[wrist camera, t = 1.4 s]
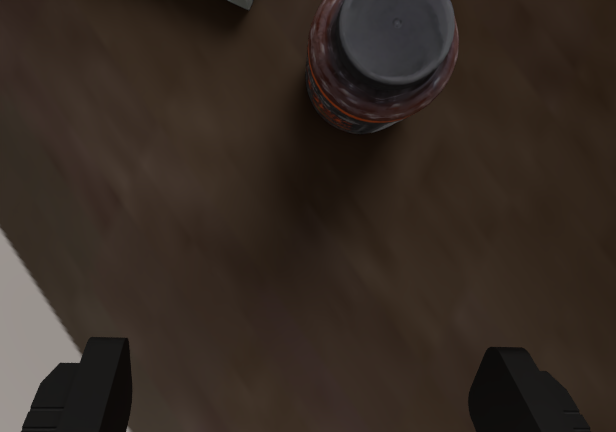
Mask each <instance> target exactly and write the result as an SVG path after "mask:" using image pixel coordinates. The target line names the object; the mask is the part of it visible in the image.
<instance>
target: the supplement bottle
mask: <svg viewBox="0 0 616 432" xmlns="http://www.w3.org/2000/svg"><path fill="white" fill-rule="evenodd" d="M458 44H459V37H458V29H457V24H456V20H455V17H454V11H453V7H452V4H451V1H450V0H323V1H322V2H321V4H320V6H319V8H318V9H317V11H316V14H315V16H314V19H313V21H312V24H311V28H310V32H309V40H308V50H307V62H306V74H305V77H306V88H307V91H308V95H309V98H310V100H311V103H312V104H313V107H314V108H315V110H316V111H317V113H318V114H319V115H320V116H321V117H322V118H323V119H324V120H325V121H326V122H327V123H329V124H330V125H332V126H333V127H335V128H337V129H339V130H342V131H344V132H349V133H354V134H365V133H373V132H376V131H379V130H382V129H385V128H387V127H389V126H391V125H393V124H395V123H397V122H399V121H401V120H403V119H405V118H407V117H409V116H411V115H413V114H415V113H417V112H418V111H420V110H421V109H423V108H424V107H426V106H427V105H429V104H430V103H431V102H432V101H433V100H434V99H435V98H436V97H437V96H438V95H439V93H440V92H441V91H442V90H443V88H444V86H445V85H446V84H447V82H448V80H449V78H450V76H451V74H452V72H453V70H454V67H455V64H456V60H457V56H458Z"/></svg>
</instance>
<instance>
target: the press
mask: <svg viewBox="0 0 616 432" xmlns="http://www.w3.org/2000/svg"><path fill="white" fill-rule="evenodd" d="M227 1H229V2H231V3H234V4H236V5H238V6H240V7H242V8H245V9H247V10H250V7H251V5H252V3H253V0H227Z"/></svg>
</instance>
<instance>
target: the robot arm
mask: <svg viewBox="0 0 616 432" xmlns="http://www.w3.org/2000/svg"><path fill="white" fill-rule="evenodd" d="M131 403H132V376H131V363H130V350H129V341H128V338H108V337H91V338H90V339H89V340H88V342H87V344H86V347H85V350H84V353H83V355H82V358H81V361H80V363H59V364H58V366H57V367H56V368H55V369H54V370H53V371H52V372H51V373H50V374H49V375H48V376H47V377H46V378H45V379H44V380H43V381H42V382H41V383H40V386H39V388H38V391H37V393H36V395H35V398H34V400H33V402H32V405H31V409H30V412H28V414H27V417H26V419H25V421H24V424H23V426H22V431H21V432H126V429H127V425H128V421H129V416H130V410H131ZM468 406H469V412H470V416H471V419H472V422H473V424H474V427H475V429H476V432H590V427H589V425H588V424H587V422H586V420H585V419H584V417H583V416H582V415H580V414H579V409H578V408H577V406H576V404H575V403H574V401H573V399H572V398H571V396H570V395H569V393H568V391H567V390H566V389H565V388H564V387H563V386H562V385H561V384H560V383H559V382H558V381H557V380H555V379H554V378H553V377H552V376H551V375H550V374H549V373H548V372H547V371H539V369H538V368H537V366H536V364H535V363H534V361H533V359H532V358H531V356H530V354H529V353H528V352H527V350H525V349H524V348H518V347H490V348H488V349H487V350H486V352H485V354H484V357H483V359H482V362H481V364H480V367H479V369H478V371H477V374H476V376H475V379H474V381H473V384H472V386H471V389H470V391H469V397H468Z"/></svg>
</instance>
